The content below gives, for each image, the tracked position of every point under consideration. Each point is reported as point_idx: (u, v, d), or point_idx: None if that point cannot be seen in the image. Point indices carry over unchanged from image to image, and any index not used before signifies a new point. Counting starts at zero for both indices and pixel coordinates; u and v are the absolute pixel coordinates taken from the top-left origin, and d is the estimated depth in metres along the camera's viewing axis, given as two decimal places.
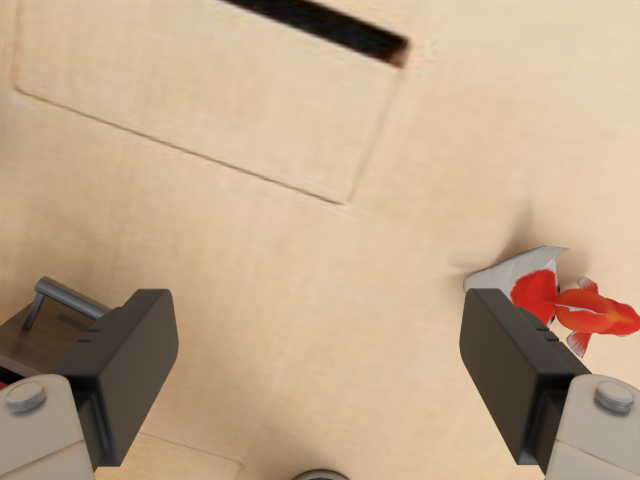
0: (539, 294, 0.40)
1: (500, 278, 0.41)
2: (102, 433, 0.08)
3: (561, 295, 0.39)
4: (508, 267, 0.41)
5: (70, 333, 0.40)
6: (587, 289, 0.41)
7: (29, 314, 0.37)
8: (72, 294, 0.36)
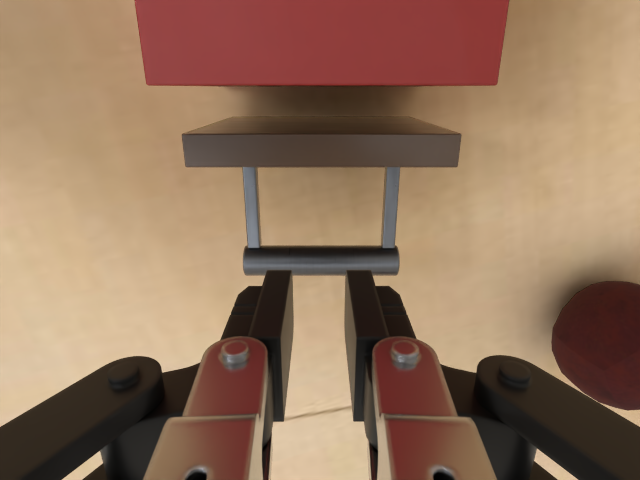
0: None
1: None
2: (273, 390, 0.09)
3: None
4: None
5: None
6: None
7: (394, 196, 0.19)
8: None
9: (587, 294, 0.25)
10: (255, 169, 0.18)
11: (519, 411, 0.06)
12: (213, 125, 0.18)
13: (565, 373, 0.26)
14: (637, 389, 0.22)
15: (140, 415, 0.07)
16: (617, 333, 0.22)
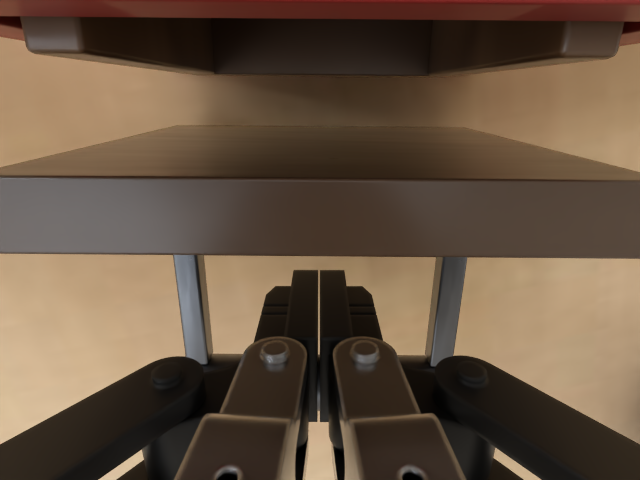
0: None
1: None
2: (308, 390, 0.09)
3: None
4: None
5: None
6: None
7: (458, 279, 0.10)
8: None
9: None
10: None
11: (478, 412, 0.06)
12: (106, 145, 0.09)
13: None
14: None
15: (180, 417, 0.07)
16: None
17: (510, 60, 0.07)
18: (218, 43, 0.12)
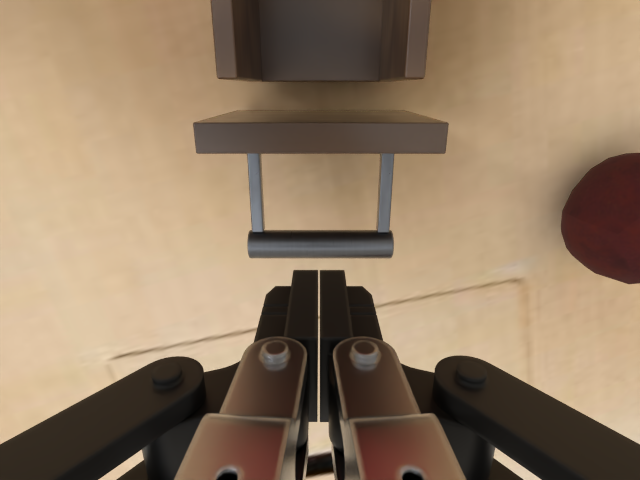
0: None
1: None
2: (308, 390, 0.09)
3: None
4: None
5: None
6: None
7: (389, 183, 0.20)
8: None
9: (599, 166, 0.24)
10: (259, 158, 0.20)
11: (478, 412, 0.06)
12: (220, 116, 0.19)
13: (576, 253, 0.24)
14: None
15: (180, 417, 0.07)
16: (632, 191, 0.21)
17: (397, 77, 0.17)
18: (264, 64, 0.22)
